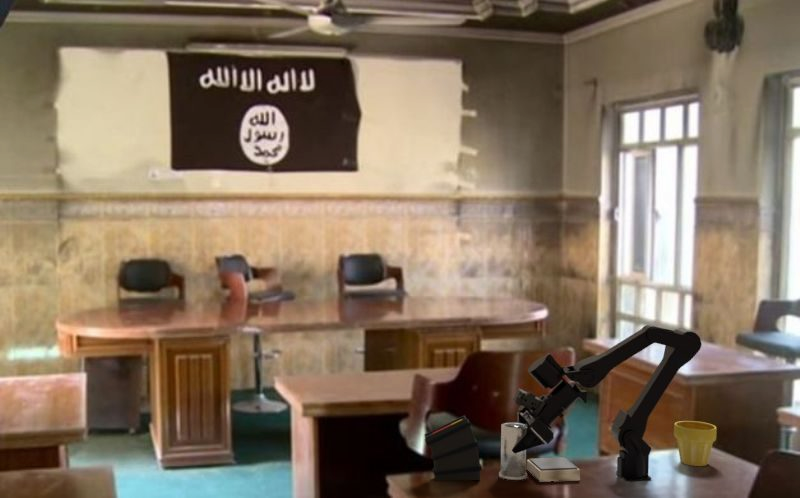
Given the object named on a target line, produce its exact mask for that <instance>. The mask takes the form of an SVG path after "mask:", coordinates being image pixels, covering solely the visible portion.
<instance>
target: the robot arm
mask: <svg viewBox="0 0 800 498" xmlns="http://www.w3.org/2000/svg"><path fill="white" fill-rule="evenodd" d="M653 344H658V345H661V346H662V345H663V346H665V347H664V351H663V357H662V359H661V360H660V362H659V363H658V365H657V367H656V368H655V370H654V372H653V373H652V375H651V377H649V380H648V381H647V383H646V384H645V386H644V387H643V389H642V391H641V392H640V394H639V396H638V397H637V398H636V399H635V402H634V403H633V405H632V406H631V407H630V408H628V409H627V410H626V411H624V410H623V409H622V408H621V409H619V410H618V412H617V415H616V416H615V418H614V419H613V420H612V421H611V424H612V426H611V429H610V432H611V435H612V438H613V439H614V440H615V441H616V442H617V443H618V444H619V447H620V448H621V449H619V453H618V454H619V456H617V459H616V460H617V463H616V472H615V473H616V475H618V476H620V477H621V478H622V479H623V480H625V481H626V482H627V481H628V482H630V481H650V480H652V477H651V476H650V475H649V462H650V458H649V457H650V454H651V451H652V447H651V446H650V445H649V444H648V443H647V442H646V441H645V440H644V439H643V438H644V435H645V433H646V429H647V426H648V420H649V417H650V416H651V414H652V412H653V411H654V410H655V408H656V406H657V405H658V403H659V402H660V400H661V399H662V397H663V396H664V394H665V392H666V391H667V389H668V388H669V386H670V385H671V383H672V381H673V380H674V378H675V377H676V375H677V373H678V372H679V370H680V369H681V368H682V367H684V366H685V365H686V364H688V363H689V362H690V361H692V360H693V358H694V357H695V356H696V355H697V354H698V353H699V352H700V350H701V348H702V340H701V338H700V336H699V335H698V334H697V333H696V332H694V331H691V330H689V329H686V328H677V329H674V330H673V329H669V328H663V327H658V326H655V325H653V324H645V325H644V326H643V327H642V328H640V329H639V330H638V331H636V332H635V333H633V334H631V335H630V336H628V337H627V338H625V339H623V340H622V341H620V342H619V343H617V344H615V345H614V346H612V347H610V348H608V349H607V350H605V351H604V352H602V353H599V354H596V355H593V356H592V355H591V356H589V357H586V358H583V359H581V360H578V361H577V362H576V363H574V364H573V365H567V366H566V365H565V366H561V365H560V364H559V363H558V362H557V361H556V360H555V358H554V356H553V355H551V354H550V353H549V352H547V353H546V354H544V355H543V356H542V357H540V358H538V359H535V361H534V362H533V363H532V364H531V365H530V366H529V367H528V370H527V373H528V374H529V375H530V376H531V377H532V378H533V379H535V381H536V382H537V383H539V385H540V386H541V387H542V388H543V389H548V388H549V389H552V390H551V391H549V392H548V393H547V394H546V395H545V394H541V395H540V396H539V397H538V396H536V394H535V393H532V392H531V391H525V390H523V389H522V388H518V389H517V391H516V392H515V394H514V397H513V398H512V401H513V402H514V404H515V405H518V406H519V407H518V408H517V410H518V411H517V412H516V414H517V421H516V423H521V424H525V433H524V434H523V436H522V437H521V438H520V440H519V441H518V442H517V443H516V445H515V446H514V447H513V449H512V451H513V452H514V453H518V452H521V451H524V450H526V451H527V450H530V449H533V448H536V447H538V446H542V445H546V444H547V445H549V443H550V442H552V441H553V440H554V435H555V433H554V432H553V431H552V427H553V426H551V425H553V423H554V422H556V421H557V420H558V419H559V418H560V419H562V418H563V417H564V413H565V412H566V411H567V410H568V409H569V408H570V407H571V406H572V405H573V404H574V403H575V402H577V400H578V399H580V400H581V402H583V403H584V404H587V403H588V394H589V393H588V391H587V390H585V389H593V388H595V387H596V386H597V385H599V384H600V383H601V382H602V381H603V380H605V379H606V378H607V376H608V375H609V374H610V372H611V371H612V370H613V369H615V368H616V367H617V366H619V365H621V364H623V363H624V362H625V361H626V362H627V360H628V359H630V358H632V357H634V356H635V355H636V354H638V353H640V352H642V351H643V350H645V349H646V348H648V347H650V346H651V345H653ZM564 376H565V377H566V378H567V379H568V380H570V381H571V382H568V381H567V380H566V379H565V378H564ZM575 382H576V383H577V384H578V385H580V386H581V387H583V388H585V389H581V388H580V387H579V386H578V385H577V384H576V383H575Z"/></svg>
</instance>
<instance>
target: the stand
mask: <svg viewBox="0 0 800 498" xmlns="http://www.w3.org/2000/svg"><path fill="white" fill-rule="evenodd" d="M527 470H528V471H529V472H530V473H531V474H532V475H531V474H530V473H529V472H528V471H527ZM526 471H527V472H528V473H529V474H530V475H531V476H532V477H534V476H535V477H536V478H537V479H538V480H539V481H538V480H537V479H536V478H535V477H534V478H535V479H536V480H537V481H538V482H539V483H547V482H549V483H550V482H551V481H554V482H575V481H576V482H577V481H581V469H580V468H579V467H577V466H576V465H575V464H573V463H572V462H571V461H570V460H568V459H567V458H566V457H562V456H561V457H541V458H540V457H538V458H536V457H535V458H529V459H526ZM559 480H560V481H559ZM561 480H562V481H561Z"/></svg>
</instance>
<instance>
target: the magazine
mask: <svg viewBox="0 0 800 498" xmlns="http://www.w3.org/2000/svg"><path fill="white" fill-rule="evenodd" d="M471 426H472V424H471V422H470V420H469V419H468V418H467V417H466V415H462V416H460V417H458V418H456V419H454V420H452V421H449V422H447V423H446V424H445V423H444V424H443V425H441V426H439V427H437V428H434V429H433V430H431V431H429V432H426V433H425V434H424V440H425V443H426V446H427V447H429V449H430V451H431V454H430V457H431V459H432V461H433V467H432V473H433V475H434V480H435V481H436V482H458V481H459V482H463V481H465V482H467V481H468V482H471V481H472V480H479V481H480V480H481V471H483V470H482V465H481V463H480V455H479V449H478V447H479V443H478V440H477V439H476V437H475V434H474V432H473V430H472V427H471ZM472 482H473V481H472Z"/></svg>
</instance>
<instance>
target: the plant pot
mask: <svg viewBox="0 0 800 498" xmlns="http://www.w3.org/2000/svg"><path fill="white" fill-rule="evenodd" d="M717 430H718V429H717V426H716V425H714V424H712V423H708V422H705V421H695V420H694V421H693V420H681V421H680V420H679V421H676V422H674V427H673V436H674V437H675V439H676V442H677V443H676V444H677V448H678V455H679V460H680V462H681V463H682V464H684V465H687V466H693V467H705V466H707V465H708V463H709V460H710V456H711V452H712V448H713V444H714V442H716V441H717V434H718V433H717Z"/></svg>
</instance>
